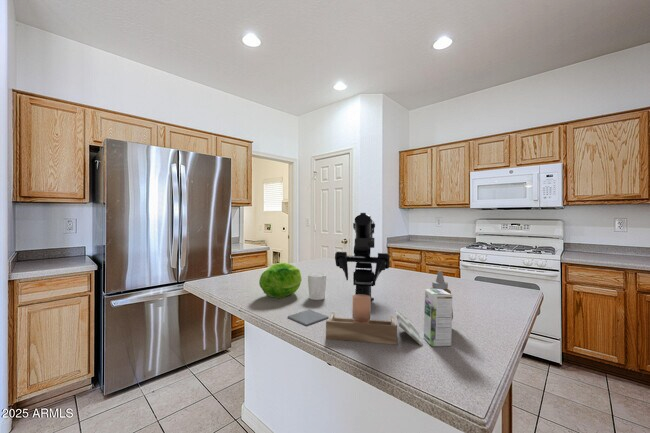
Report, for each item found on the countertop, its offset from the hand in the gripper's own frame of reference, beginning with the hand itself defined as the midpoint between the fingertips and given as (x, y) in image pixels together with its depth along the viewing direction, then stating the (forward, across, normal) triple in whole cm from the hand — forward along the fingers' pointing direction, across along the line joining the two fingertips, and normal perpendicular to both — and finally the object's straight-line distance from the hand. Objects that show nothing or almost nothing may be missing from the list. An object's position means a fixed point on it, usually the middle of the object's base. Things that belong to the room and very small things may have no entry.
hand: (360, 280), depth 94 cm
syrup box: (+17, +22, +3) cm, 28 cm away
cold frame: (+15, +4, +6) cm, 16 cm away
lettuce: (-7, -35, +27) cm, 45 cm away
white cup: (-8, -20, +27) cm, 34 cm away
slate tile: (+9, -18, +11) cm, 23 cm away
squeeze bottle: (+9, +25, +12) cm, 29 cm away
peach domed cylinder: (+16, +1, +5) cm, 16 cm away
